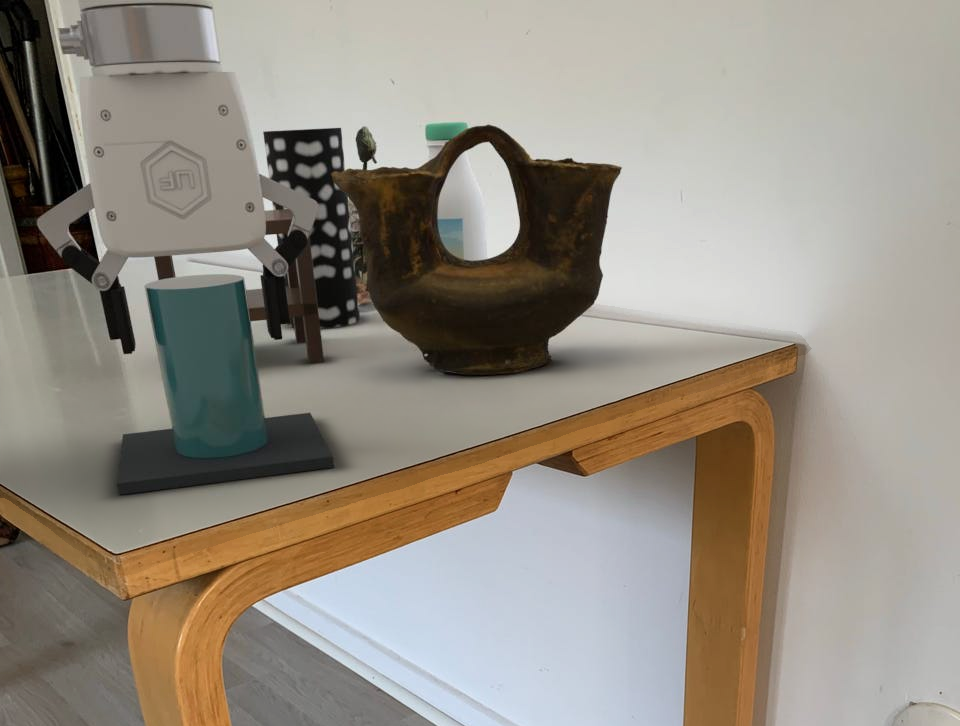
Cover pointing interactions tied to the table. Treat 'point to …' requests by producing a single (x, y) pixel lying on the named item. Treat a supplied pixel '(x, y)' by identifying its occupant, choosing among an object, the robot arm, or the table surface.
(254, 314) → the shelf
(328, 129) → the spotted tube
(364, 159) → the plant with pod
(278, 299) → the robot arm
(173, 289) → the teal tin can
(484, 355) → the pottery vessel
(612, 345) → the table surface
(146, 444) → the mat
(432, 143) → the milk bottle
